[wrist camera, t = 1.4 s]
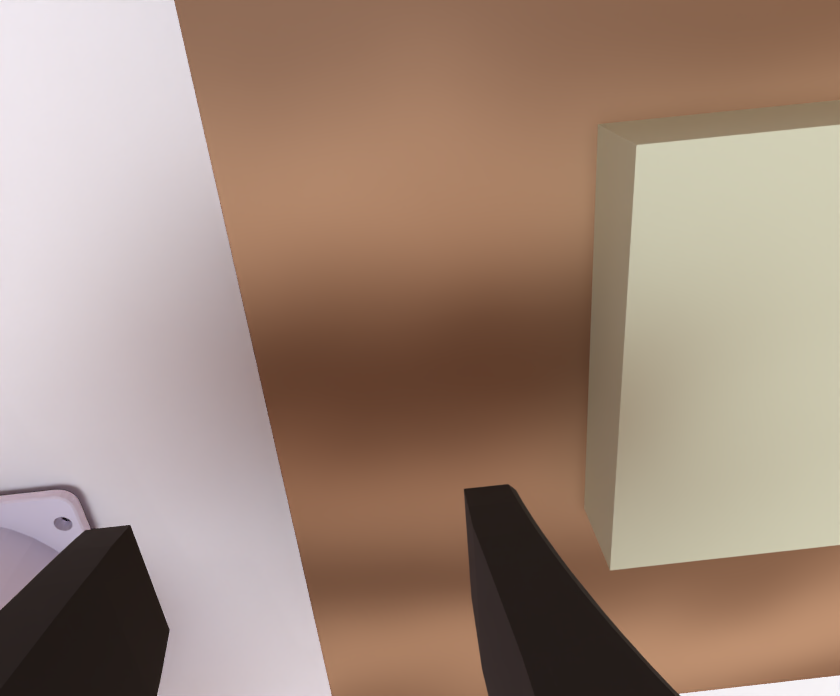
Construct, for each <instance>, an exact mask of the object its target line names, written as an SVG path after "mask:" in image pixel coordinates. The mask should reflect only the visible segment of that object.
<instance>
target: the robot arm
mask: <svg viewBox="0 0 840 696" xmlns="http://www.w3.org/2000/svg"><path fill="white" fill-rule="evenodd" d="M464 500H465V514H466V529H467V543H468V557H469V571H470V586H471V598H472V605H473V612H474V619H475V626H476V632H477V639H478V646H479V653H480V659H481V666H482V671H483V675H484V680H485V684H486V688H487V692H488V696H680V695H679V694H678V693H677V692H676V691H675V690H674V689H673V688H672V687H671V686H670V685H669V684H668V683H667V682H666V680H665V679H664V678H663V677H662V676H661V675H660V674H659V673H658V672H657V671H656V670H655V669H654V668H653V667H652V666H651V665H650V663H649V662H648V661H647V660H646V659H645V658H644V657H643V656H642V655H641V653H640V652H639V651H638V650H637V649H636V648H635V647H634V646H633V645H632V643H631V642H630V641H629V640H628V639H627V638H626V637H625V636H624V635H623V633H622V632H621V631H620V630H619V629H618V628H617V626H616V625H615V624H614V623H613V622H612V621H611V619H610V618H609V617H608V616H607V615H606V614H605V612H604V611H603V610H602V609H601V608H600V606H599V605H598V604H597V603H596V601H595V600H594V599H593V598H592V596H591V595H590V594H589V593H588V591H587V590H586V589H585V588H584V586H583V585H582V584H581V583H580V582H579V580H578V579H577V578H576V577H575V575H574V574H573V573H572V572H571V570H570V569H569V568H568V566H567V565H566V564H565V562H564V561H563V560H562V558H561V557H560V556H559V554H558V553H557V552H556V550H555V549H554V547H553V546H552V545H551V543H550V542H549V540H548V539H547V538H546V536H545V535H544V533H543V532H542V530H541V529H540V528H539V526H538V525H537V523H536V522H535V520H534V519H533V517H532V515H531V514H530V512H529V511H528V509H527V508H526V506H525V504H524V503H523V501H522V499H521V498H520V496H519V494H518V492H517V490H515V489H514V488H513V487H512V486H510V485H509V484H503V485H494V486H485V487H476V488H466V489H464ZM61 517H65V518H67V519H69V520H70V521H71V522H70V521H65V520H63V519H62V518H61ZM168 635H169V627H168V625H167V622H166V619H165V617H164V614H163V611H162V609H161V606H160V603H159V601H158V598H157V595H156V593H155V590H154V587H153V585H152V582H151V579H150V577H149V574H148V571H147V569H146V566H145V563H144V561H143V558H142V555H141V553H140V550H139V547H138V545H137V542H136V539H135V537H134V534H133V531H132V528H131V526H130V525H126V526H117V527H108V528H99V529H91V528H90V526H89V523H88V521H87V519H86V516H85V514H84V511H83V509H82V506H81V504H80V502H79V500H78V498H77V497H76V496H75V495H74V494H72V493H71V492H68V491H65V490H49V491H39V492H30V493H21V494H12V495H2V496H0V696H157V692H158V688H159V683H160V678H161V673H162V668H163V663H164V657H165V652H166V646H167V641H168Z"/></svg>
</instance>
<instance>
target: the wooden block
mask: <svg viewBox="0 0 840 696" xmlns="http://www.w3.org/2000/svg"><path fill="white" fill-rule="evenodd" d="M174 1H175V6H176V10H177V15H178V19H179V23H180V28H181V32H182V37H183V41H184V45H185V50H186V54H187V59H188V63H189V67H190V72H191V76H192V81H193V85H194V89H195V94H196V98H197V103H198V107H199V112H200V116H201V120H202V125H203V129H204V134H205V138H206V142H207V147H208V151H209V156H210V160H211V164H212V169H213V173H214V178H215V182H216V186H217V191H218V195H219V200H220V204H221V209H222V213H223V217H224V222H225V226H226V231H227V235H228V239H229V244H230V248H231V253H232V257H233V261H234V266H235V270H236V275H237V279H238V283H239V288H240V292H241V297H242V301H243V306H244V310H245V314H246V319H247V323H248V328H249V332H250V336H251V341H252V345H253V350H254V354H255V358H256V363H257V367H258V372H259V376H260V380H261V385H262V389H263V394H264V398H265V403H266V407H267V411H268V416H269V420H270V425H271V429H272V433H273V438H274V442H275V447H276V451H277V455H278V460H279V464H280V469H281V473H282V477H283V482H284V486H285V491H286V495H287V500H288V504H289V508H290V513H291V517H292V522H293V526H294V530H295V535H296V539H297V544H298V548H299V552H300V557H301V561H302V566H303V570H304V574H305V579H306V583H307V588H308V592H309V597H310V601H311V605H312V610H313V614H314V619H315V623H316V627H317V632H318V636H319V641H320V645H321V649H322V654H323V658H324V663H325V667H326V671H327V676H328V680H329V685H330V689H331V694H332V696H488V692H487V688H486V684H485V680H484V675H483V671H482V666H481V659H480V653H479V646H478V639H477V632H476V626H475V619H474V612H473V605H472V598H471V586H470V571H469V557H468V543H467V529H466V514H465V500H464V489H466V488H476V487H485V486H494V485H503V484H509V485H510V486H512V487H513V488H514V489H515V490H517V492H518V494H519V496H520V498H521V499H522V501H523V503H524V504H525V506H526V508H527V509H528V511H529V512H530V514H531V515H532V517H533V519H534V520H535V522H536V523H537V525H538V526H539V528H540V529H541V530H542V532H543V533H544V535H545V536H546V538H547V539H548V540H549V542H550V543H551V545H552V546H553V547H554V549H555V550H556V552H557V553H558V554H559V556H560V557H561V558H562V560H563V561H564V562H565V564H566V565H567V566H568V568H569V569H570V570H571V572H572V573H573V574H574V575H575V577H576V578H577V579H578V580H579V582H580V583H581V584H582V585H583V586H584V588H585V589H586V590H587V591H588V593H589V594H590V595H591V596H592V598H593V599H594V600H595V601H596V603H597V604H598V605H599V606H600V608H601V609H602V610H603V611H604V612H605V614H606V615H607V616H608V617H609V618H610V619H611V621H612V622H613V623H614V624H615V625H616V626H617V628H618V629H619V630H620V631H621V632H622V633H623V635H624V636H625V637H626V638H627V639H628V640H629V641H630V642H631V643H632V645H633V646H634V647H635V648H636V649H637V650H638V651H639V652H640V653H641V655H642V656H643V657H644V658H645V659H646V660H647V661H648V662H649V663H650V665H651V666H652V667H653V668H654V669H655V670H656V671H657V672H658V673H659V674H660V675H661V676H662V677H663V678H664V679H665V680H666V682H667V683H668V684H669V685H670V686H671V687H672V688H673V689H674V690H675V691H676V692H677V693H678V694H680V693H688V692H697V691H706V690H715V689H723V688H732V687H741V686H750V685H758V684H767V683H776V682H785V681H793V680H802V679H811V678H820V677H828V676H837V675H840V545H835V546H826V547H817V548H808V549H799V550H790V551H781V552H772V553H763V554H754V555H745V556H736V557H727V558H718V559H709V560H700V561H691V562H682V563H673V564H664V565H655V566H646V567H637V568H628V569H619V570H610V569H609V567H608V564H607V562H606V560H605V557H604V555H603V552H602V550H601V548H600V545H599V543H598V540H597V538H596V536H595V533H594V531H593V528H592V526H591V524H590V521H589V519H588V517H587V514H586V512H585V509H584V499H585V472H586V444H587V416H588V388H589V360H590V332H591V304H592V277H593V249H594V221H595V193H596V165H597V137H598V124H605V123H615V122H625V121H635V120H645V119H655V118H665V117H675V116H685V115H695V114H705V113H714V112H724V111H734V110H744V109H754V108H764V107H774V106H784V105H794V104H804V103H814V102H824V101H834V100H840V0H174Z"/></svg>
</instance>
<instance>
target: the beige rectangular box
mask: <svg viewBox="0 0 840 696" xmlns="http://www.w3.org/2000/svg"><path fill="white" fill-rule="evenodd" d="M584 509H585V512H586V514H587V517H588V519H589V521H590V524H591V526H592V528H593V531H594V533H595V536H596V538H597V540H598V543H599V545H600V548H601V550H602V552H603V555H604V557H605V560H606V562H607V564H608V567H609V569H610V570H619V569H628V568H637V567H646V566H655V565H664V564H673V563H682V562H691V561H700V560H709V559H718V558H727V557H736V556H745V555H754V554H763V553H772V552H781V551H790V550H799V549H808V548H817V547H826V546H835V545H840V100H834V101H824V102H814V103H804V104H794V105H784V106H774V107H764V108H754V109H744V110H734V111H724V112H714V113H705V114H695V115H685V116H675V117H665V118H655V119H645V120H635V121H625V122H615V123H605V124H598V137H597V165H596V193H595V221H594V249H593V277H592V304H591V332H590V360H589V388H588V416H587V444H586V472H585V499H584Z"/></svg>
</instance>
